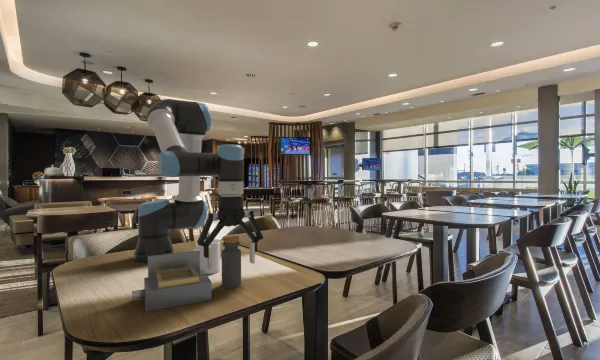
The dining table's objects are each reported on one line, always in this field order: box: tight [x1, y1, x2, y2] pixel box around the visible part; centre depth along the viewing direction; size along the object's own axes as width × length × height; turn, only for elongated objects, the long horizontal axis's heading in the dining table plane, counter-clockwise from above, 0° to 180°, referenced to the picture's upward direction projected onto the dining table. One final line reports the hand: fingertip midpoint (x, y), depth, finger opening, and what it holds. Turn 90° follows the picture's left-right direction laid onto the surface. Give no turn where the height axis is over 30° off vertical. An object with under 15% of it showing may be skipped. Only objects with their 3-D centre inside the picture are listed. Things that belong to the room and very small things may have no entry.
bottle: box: [221, 234, 242, 289], centre depth 98 cm, size 6×6×15 cm
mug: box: [193, 239, 221, 276], centre depth 111 cm, size 12×8×10 cm
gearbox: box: [131, 250, 212, 313], centre depth 87 cm, size 12×19×11 cm, turn 117°
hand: (231, 265), depth 98 cm, fingers open, 12 cm apart
